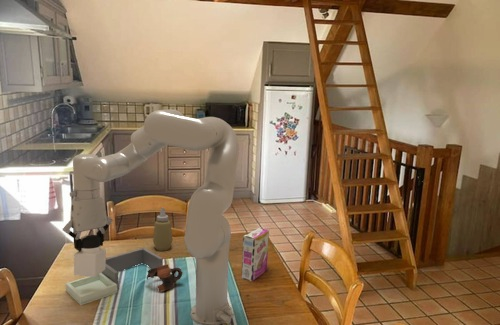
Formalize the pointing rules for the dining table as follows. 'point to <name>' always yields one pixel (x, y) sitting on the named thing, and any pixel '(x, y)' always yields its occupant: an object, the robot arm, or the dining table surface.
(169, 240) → the squeeze bottle
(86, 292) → the tray
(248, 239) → the candy bar box
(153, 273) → the brown mug
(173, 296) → the dining table surface
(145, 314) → the dining table surface
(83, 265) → the medicine bottle
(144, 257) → the bay
